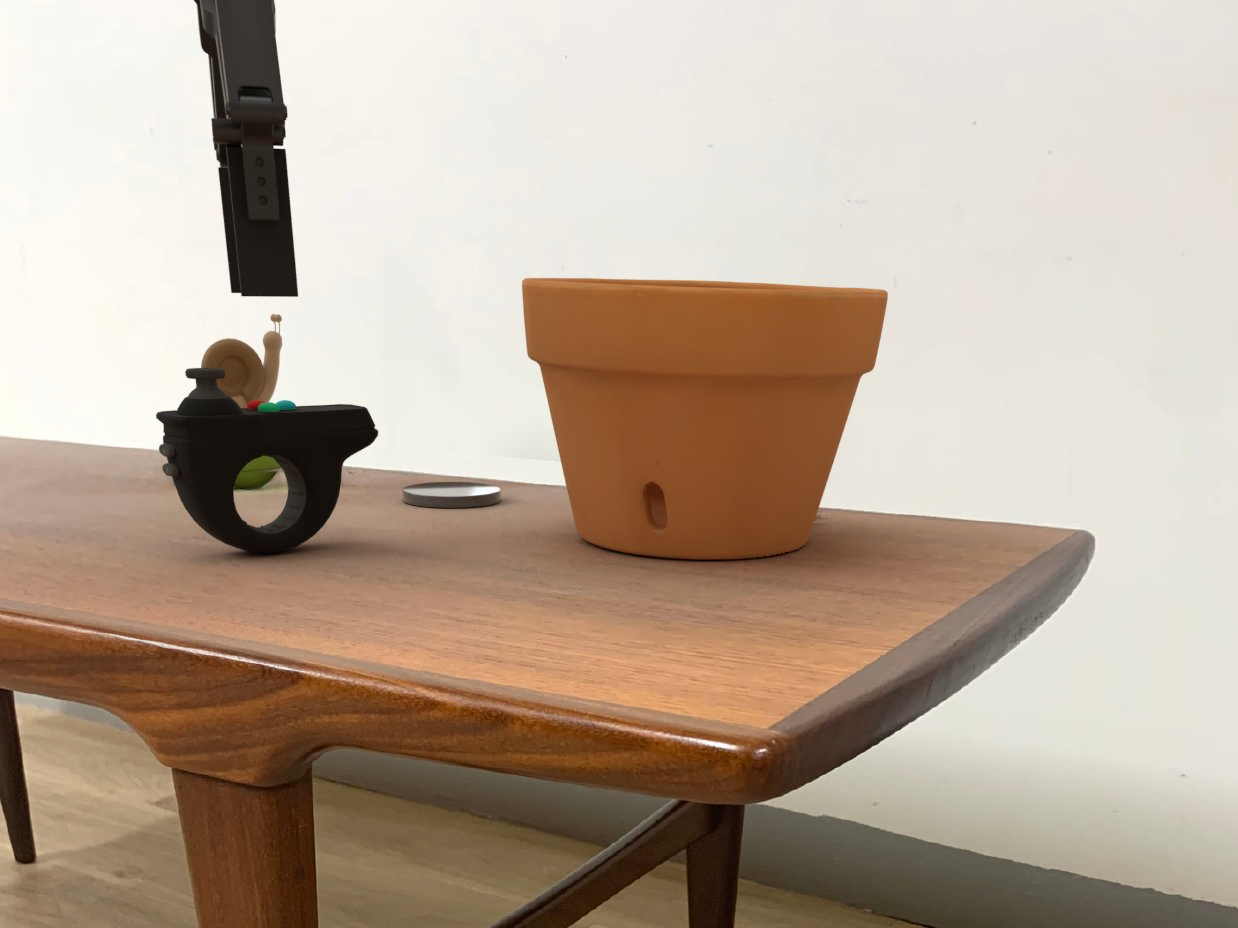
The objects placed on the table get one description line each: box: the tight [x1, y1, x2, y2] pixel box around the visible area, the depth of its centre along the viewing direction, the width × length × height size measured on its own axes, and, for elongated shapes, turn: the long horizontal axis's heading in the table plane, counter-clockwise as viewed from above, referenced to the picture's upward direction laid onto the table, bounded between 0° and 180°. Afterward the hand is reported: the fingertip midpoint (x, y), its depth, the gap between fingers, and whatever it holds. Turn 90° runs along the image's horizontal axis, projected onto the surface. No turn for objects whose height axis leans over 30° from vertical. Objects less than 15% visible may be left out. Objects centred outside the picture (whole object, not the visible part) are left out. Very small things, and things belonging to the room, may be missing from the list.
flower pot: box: [521, 277, 889, 560], centre depth 79 cm, size 21×21×15 cm
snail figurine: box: [200, 313, 283, 490], centre depth 95 cm, size 5×6×12 cm
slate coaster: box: [401, 481, 502, 509], centre depth 94 cm, size 7×7×1 cm
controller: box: [155, 367, 379, 554], centre depth 74 cm, size 4×12×10 cm, turn 128°
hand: (262, 295), depth 71 cm, fingers open, 13 cm apart
